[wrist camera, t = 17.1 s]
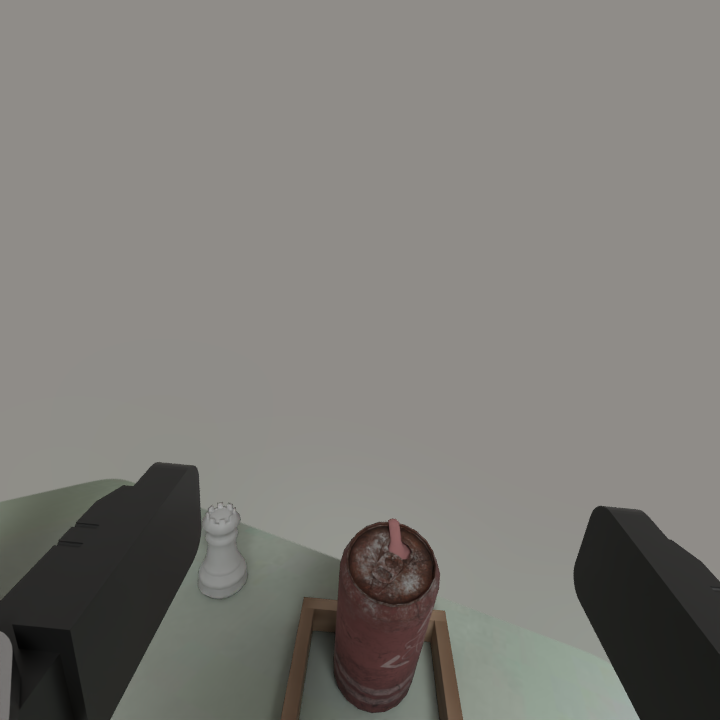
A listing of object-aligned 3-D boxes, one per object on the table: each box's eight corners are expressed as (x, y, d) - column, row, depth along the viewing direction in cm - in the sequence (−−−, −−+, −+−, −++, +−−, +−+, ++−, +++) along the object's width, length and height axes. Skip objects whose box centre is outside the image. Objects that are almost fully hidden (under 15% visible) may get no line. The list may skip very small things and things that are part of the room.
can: (404, 620, 36) (429, 511, 29) (418, 713, 31) (453, 608, 23) (332, 623, 36) (339, 513, 28) (334, 718, 30) (343, 612, 23)
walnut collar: (269, 798, 26) (270, 772, 25) (302, 618, 37) (304, 596, 36) (468, 818, 26) (475, 793, 25) (440, 632, 37) (444, 611, 36)
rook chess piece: (227, 555, 43) (225, 489, 40) (257, 578, 41) (258, 509, 38) (187, 584, 39) (182, 513, 37) (218, 611, 37) (216, 537, 34)
